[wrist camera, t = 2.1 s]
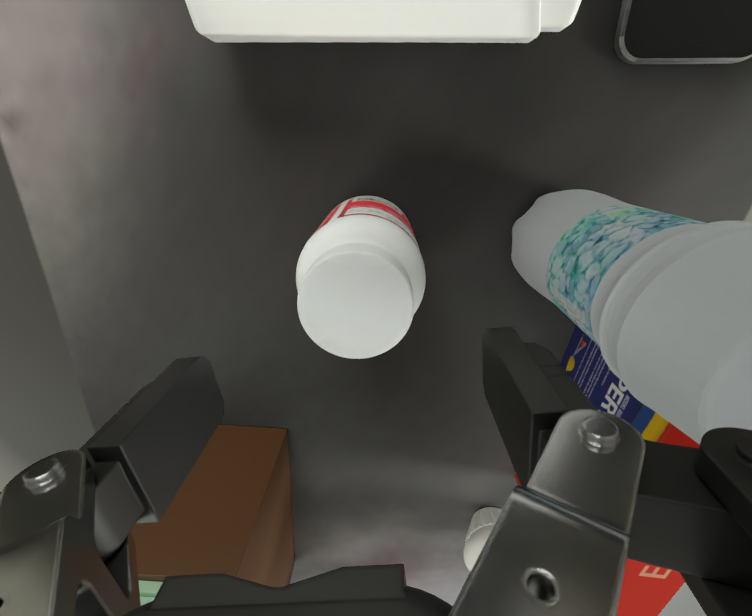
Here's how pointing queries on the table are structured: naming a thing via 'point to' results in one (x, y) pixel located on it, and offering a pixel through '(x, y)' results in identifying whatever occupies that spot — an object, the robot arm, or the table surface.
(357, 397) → the table surface
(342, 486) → the table surface
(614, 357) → the bottle
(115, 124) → the table surface
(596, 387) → the red cardboard box
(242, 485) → the rack
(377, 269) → the pill bottle
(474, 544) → the muffin
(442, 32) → the squeeze bottle
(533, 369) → the robot arm
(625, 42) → the smartphone
